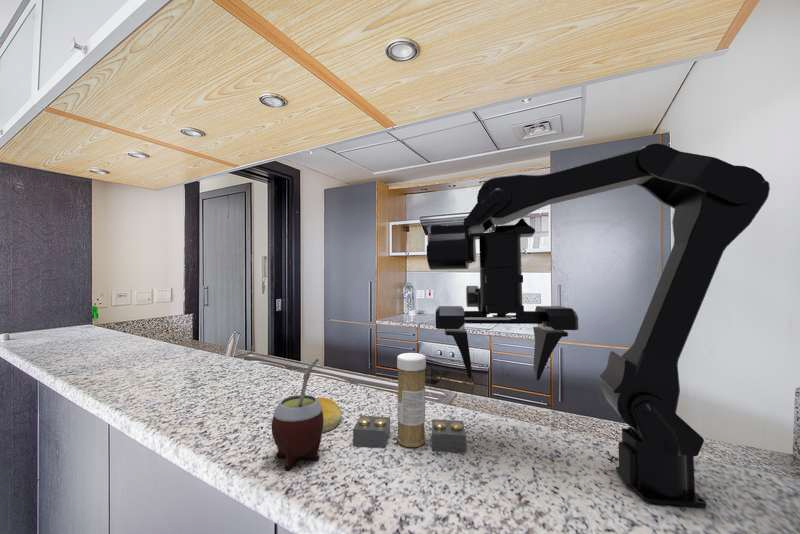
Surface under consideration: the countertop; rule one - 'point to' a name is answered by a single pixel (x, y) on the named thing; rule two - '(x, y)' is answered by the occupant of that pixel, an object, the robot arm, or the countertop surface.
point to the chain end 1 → (371, 431)
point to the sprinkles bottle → (411, 399)
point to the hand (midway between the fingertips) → (502, 378)
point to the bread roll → (330, 414)
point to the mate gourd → (298, 426)
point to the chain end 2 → (448, 436)
